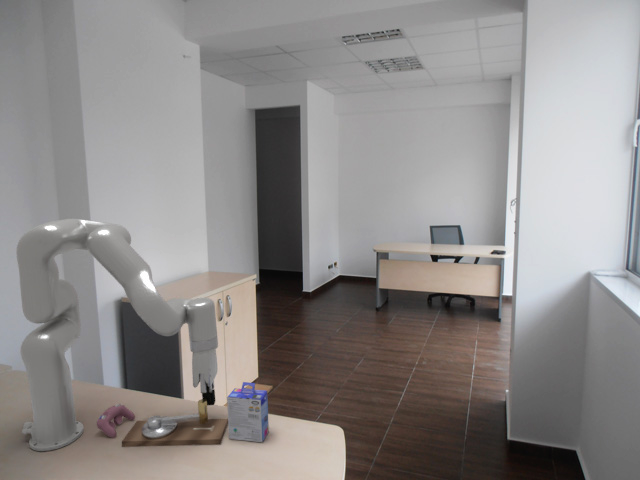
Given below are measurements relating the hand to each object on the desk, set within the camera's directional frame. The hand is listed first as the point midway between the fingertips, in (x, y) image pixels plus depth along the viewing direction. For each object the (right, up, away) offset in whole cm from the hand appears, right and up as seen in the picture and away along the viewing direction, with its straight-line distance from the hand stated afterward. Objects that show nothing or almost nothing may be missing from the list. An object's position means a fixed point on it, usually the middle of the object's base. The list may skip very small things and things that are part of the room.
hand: (209, 403), depth 119 cm
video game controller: (-26, -7, 0) cm, 27 cm away
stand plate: (-8, -7, -4) cm, 11 cm away
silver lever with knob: (-8, -5, -4) cm, 10 cm away
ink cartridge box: (+12, -7, -5) cm, 15 cm away
